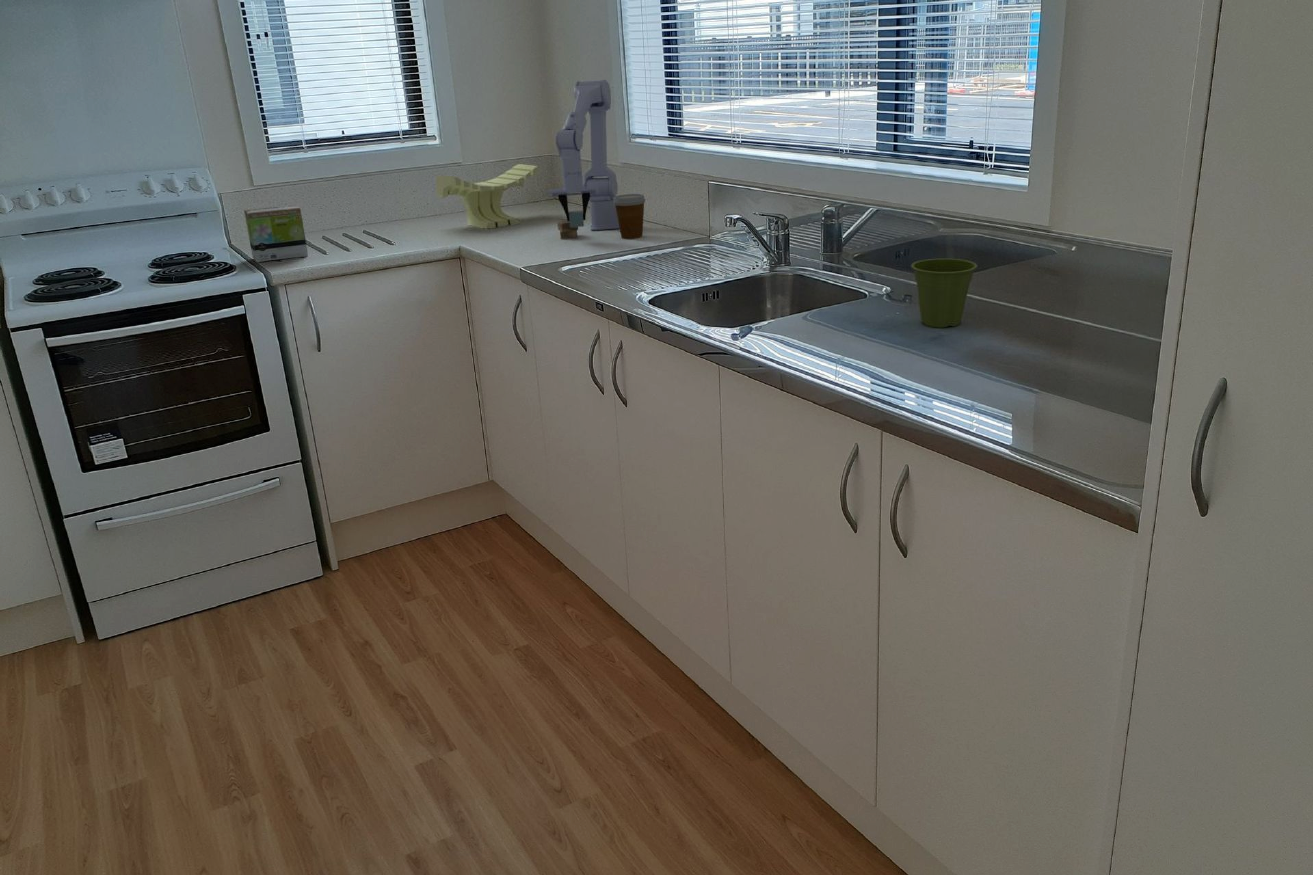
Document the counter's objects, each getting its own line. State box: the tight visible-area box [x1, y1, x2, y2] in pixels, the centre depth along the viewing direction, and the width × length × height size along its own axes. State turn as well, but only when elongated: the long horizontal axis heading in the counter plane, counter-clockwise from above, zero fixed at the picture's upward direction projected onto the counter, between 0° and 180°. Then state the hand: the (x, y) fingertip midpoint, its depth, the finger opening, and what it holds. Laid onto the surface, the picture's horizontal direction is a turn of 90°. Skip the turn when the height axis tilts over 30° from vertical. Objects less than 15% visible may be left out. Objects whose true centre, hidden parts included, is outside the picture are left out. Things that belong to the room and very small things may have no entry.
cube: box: [568, 210, 585, 228], centre depth 298 cm, size 4×4×4 cm
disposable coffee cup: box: [613, 193, 646, 240], centre depth 300 cm, size 10×10×12 cm
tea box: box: [244, 204, 309, 263], centre depth 304 cm, size 15×10×15 cm
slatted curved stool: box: [435, 163, 539, 230], centre depth 340 cm, size 30×16×18 cm, turn 125°
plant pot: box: [910, 258, 978, 329], centre depth 190 cm, size 12×12×11 cm
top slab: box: [557, 219, 579, 232], centre depth 308 cm, size 5×5×2 cm
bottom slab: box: [559, 230, 578, 240], centre depth 308 cm, size 5×5×2 cm
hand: (576, 220), depth 298 cm, fingers closed on cube, 4 cm apart
